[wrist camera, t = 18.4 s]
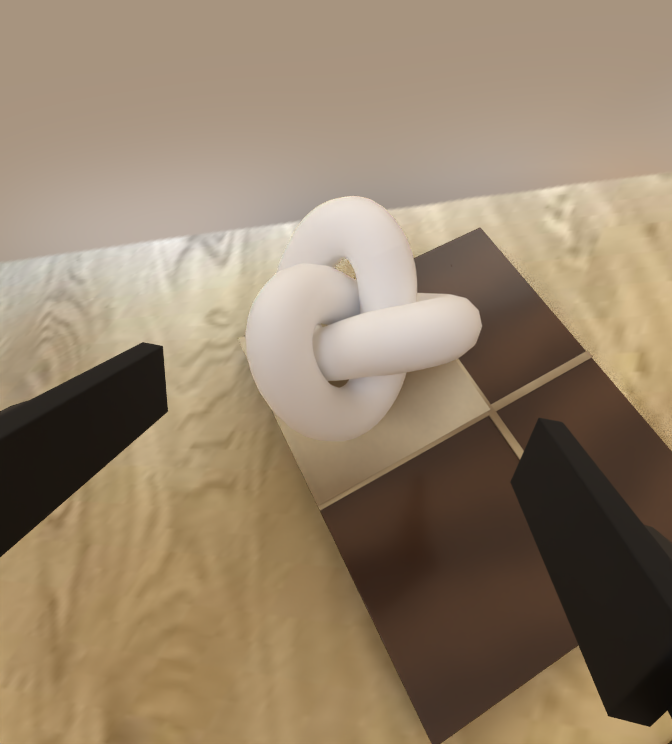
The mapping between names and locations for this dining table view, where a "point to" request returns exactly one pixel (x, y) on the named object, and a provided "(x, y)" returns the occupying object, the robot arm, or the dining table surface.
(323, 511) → the board
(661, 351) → the dining table surface
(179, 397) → the dining table surface
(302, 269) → the white knot sculpture
